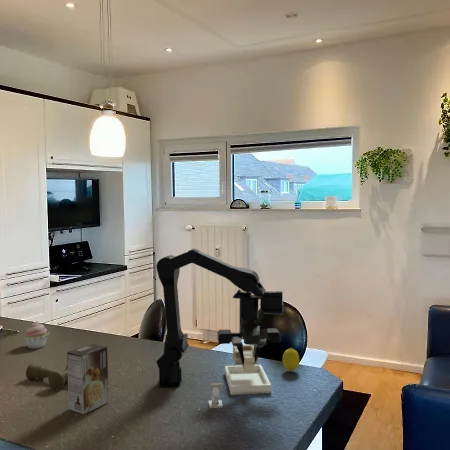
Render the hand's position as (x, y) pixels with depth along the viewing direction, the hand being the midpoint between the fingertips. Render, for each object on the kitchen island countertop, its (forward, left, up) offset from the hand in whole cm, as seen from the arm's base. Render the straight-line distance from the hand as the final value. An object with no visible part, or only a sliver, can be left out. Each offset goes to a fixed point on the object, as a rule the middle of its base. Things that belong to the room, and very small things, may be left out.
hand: (248, 363), depth 142 cm
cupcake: (-76, +48, -8) cm, 90 cm away
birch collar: (0, +4, -1) cm, 5 cm away
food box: (-46, -8, -8) cm, 47 cm away
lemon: (+16, +12, -8) cm, 22 cm away
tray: (0, +4, -8) cm, 9 cm away
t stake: (-11, -11, -8) cm, 17 cm away
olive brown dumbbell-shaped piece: (-59, +10, -8) cm, 61 cm away
